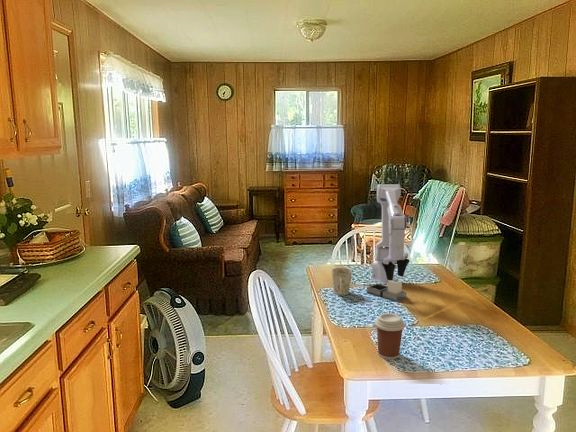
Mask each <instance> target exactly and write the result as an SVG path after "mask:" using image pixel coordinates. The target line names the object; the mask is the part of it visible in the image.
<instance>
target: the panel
mask: <svg viewBox="0 0 576 432" xmlns="http://www.w3.org/2000/svg"><path fill="white" fill-rule="evenodd" d="M365 294H368V295H371V296H375V297H378V298H381V299H384V300H387V301H391V302H394V303H398V302H399V301H402V300H405V299H406V298H408V296H407V295H408V294H407V291H405V290H402V293H400V294H398V295H395V294H391V293H388V285H384V284H380V283H374V284H371V285H369V286H367V287H366V292H365Z"/></svg>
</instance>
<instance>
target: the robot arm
mask: <svg viewBox="0 0 576 432" xmlns="http://www.w3.org/2000/svg"><path fill="white" fill-rule="evenodd" d="M401 187H402V186H401V185H400V184H399V183H398V184H393V183H392V184H384V183H383V184H382V183H378V185H377V186H376V202H377V203H378V204H380V207H381V240H380V241H377V243H376V244H375V249H374V259H375V260H374V261H373V263H372V267H371V269H372V270H371V271H372V272H371V278H370V281H375V282H379V283H383V284H386V285H388V281H389V280H390V281H392V280H393V279H394V278H395V269H396V267H397V275H398V277H403V278H404V275H405V271H406V269H407V266H408V265H409V263H410V262H411V261H410V260H411V259H410V258H409V253H408V252H404V250H405V231H406V229H407V225H408V221H407V217H406V215H405V214H404V212H403V210H402V206H401V205H400V204H399V203H398V201H400V197H401V195H402V194H401V193H402V188H401Z"/></svg>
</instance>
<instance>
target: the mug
mask: <svg viewBox="0 0 576 432" xmlns="http://www.w3.org/2000/svg"><path fill="white" fill-rule="evenodd" d="M352 271H353V270H352V269H350V268H348V267H347V268H346V267H335V268H333V269H332V270H331V276H332V285H333V293H334V294H335V295H340V296H345V295H349V292H350V288H351V281H352V274H353V272H352Z"/></svg>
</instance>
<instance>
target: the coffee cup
mask: <svg viewBox="0 0 576 432" xmlns="http://www.w3.org/2000/svg"><path fill="white" fill-rule="evenodd" d="M377 317H378V318H376V319H375V320H374V326H375V327H376V335H377V355H378V356H379V357H381V358H382V359H387V360H394V359H398V358H399V357H400V353H401V352H400V351H401V349H400V348H401V342H402V335H403V330H404V329H405V328H406V323H405V321H403V320H402V317H401V316H400V315H398V314H395V313H390V312H389V313H386V312H385V313H381V314H380V315H378V316H377Z"/></svg>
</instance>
